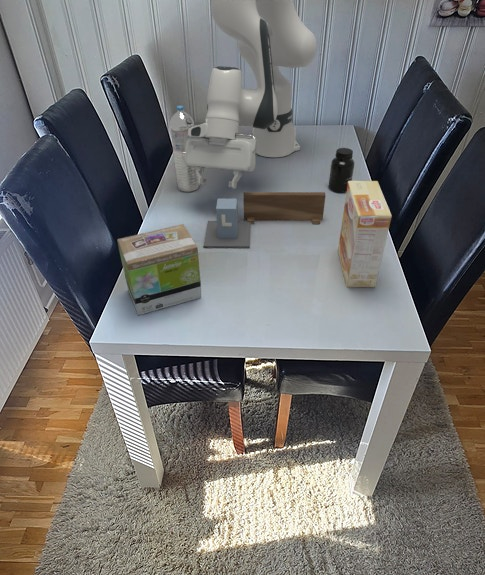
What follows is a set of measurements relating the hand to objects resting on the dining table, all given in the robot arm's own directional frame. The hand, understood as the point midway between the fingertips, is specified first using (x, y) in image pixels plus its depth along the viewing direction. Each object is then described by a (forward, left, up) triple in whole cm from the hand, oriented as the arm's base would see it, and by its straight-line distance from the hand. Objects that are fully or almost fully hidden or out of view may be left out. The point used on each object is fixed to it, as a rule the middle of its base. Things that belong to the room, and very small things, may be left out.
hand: (216, 186), depth 120 cm
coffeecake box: (+22, +35, -10) cm, 43 cm away
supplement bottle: (-18, +36, -10) cm, 41 cm away
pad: (+8, +3, -10) cm, 13 cm away
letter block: (+8, +3, -9) cm, 13 cm away
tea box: (+32, -10, -10) cm, 35 cm away
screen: (0, +18, -10) cm, 21 cm away
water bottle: (-18, -11, -10) cm, 23 cm away
